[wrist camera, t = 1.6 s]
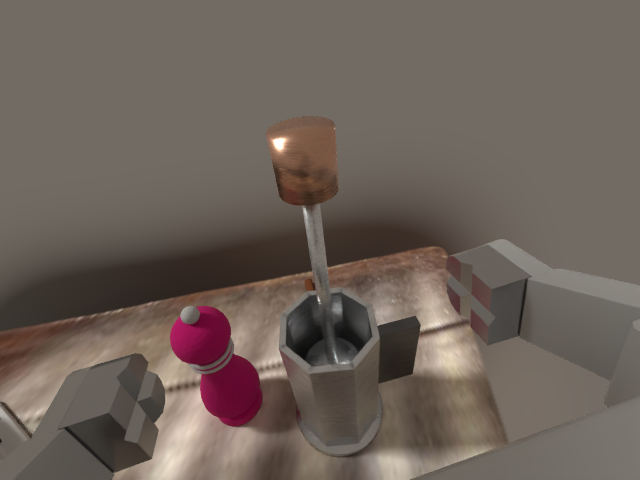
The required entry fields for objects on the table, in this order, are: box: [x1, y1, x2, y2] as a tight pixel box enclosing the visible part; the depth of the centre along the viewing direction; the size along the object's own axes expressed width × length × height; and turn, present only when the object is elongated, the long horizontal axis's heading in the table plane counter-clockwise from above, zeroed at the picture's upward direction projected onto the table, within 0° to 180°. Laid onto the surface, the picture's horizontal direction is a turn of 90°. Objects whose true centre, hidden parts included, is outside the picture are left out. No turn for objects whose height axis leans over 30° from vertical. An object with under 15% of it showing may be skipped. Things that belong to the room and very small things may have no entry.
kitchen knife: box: [305, 279, 315, 291], centre depth 53 cm, size 16×1×2 cm, turn 14°
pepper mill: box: [170, 306, 262, 426], centre depth 38 cm, size 7×7×20 cm
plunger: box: [266, 116, 358, 367], centre depth 27 cm, size 6×6×26 cm
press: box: [279, 288, 421, 457], centre depth 37 cm, size 11×14×18 cm
